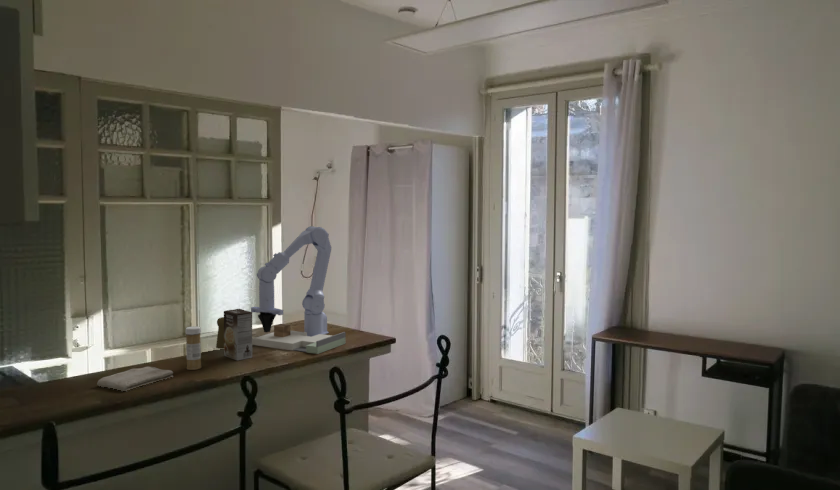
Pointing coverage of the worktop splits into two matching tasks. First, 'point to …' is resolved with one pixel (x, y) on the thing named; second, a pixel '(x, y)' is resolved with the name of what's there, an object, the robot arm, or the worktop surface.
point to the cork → (220, 333)
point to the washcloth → (134, 378)
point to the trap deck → (301, 341)
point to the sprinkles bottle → (193, 347)
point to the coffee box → (238, 334)
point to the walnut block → (282, 330)
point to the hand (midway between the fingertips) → (267, 331)
